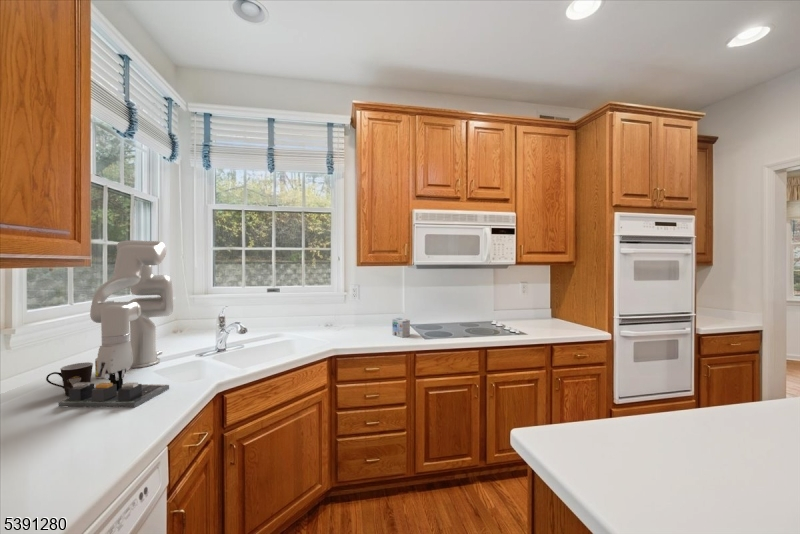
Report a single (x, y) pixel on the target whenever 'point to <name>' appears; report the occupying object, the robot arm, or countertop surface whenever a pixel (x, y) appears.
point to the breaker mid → (104, 391)
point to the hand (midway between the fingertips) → (116, 390)
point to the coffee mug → (73, 375)
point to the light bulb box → (401, 327)
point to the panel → (125, 396)
